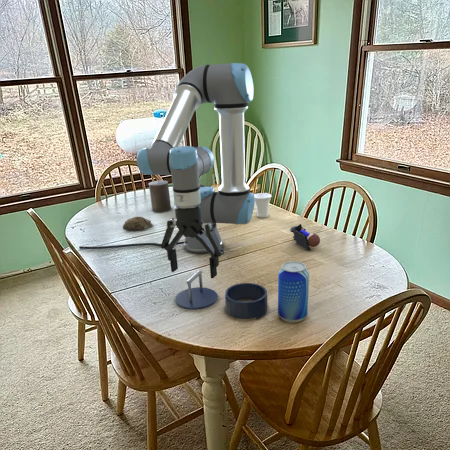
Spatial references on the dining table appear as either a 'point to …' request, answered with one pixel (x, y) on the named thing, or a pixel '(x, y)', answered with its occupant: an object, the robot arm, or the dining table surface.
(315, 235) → the character figurine
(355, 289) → the dining table surface
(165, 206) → the pillar candle
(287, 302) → the beer can
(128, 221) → the bread roll
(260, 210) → the cup
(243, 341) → the dining table surface
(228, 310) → the pot
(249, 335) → the dining table surface
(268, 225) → the dining table surface
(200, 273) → the lid
